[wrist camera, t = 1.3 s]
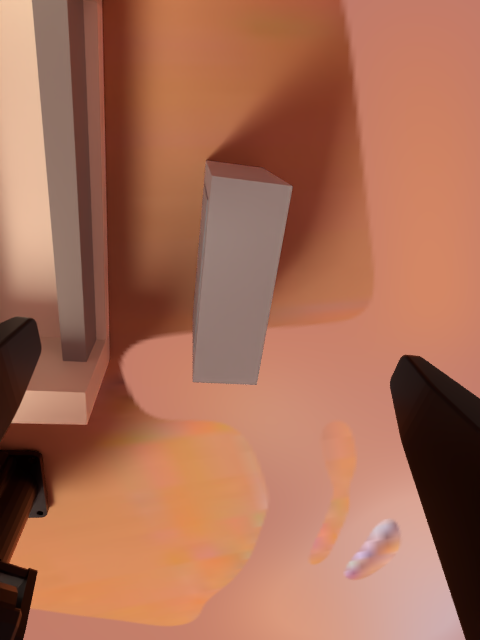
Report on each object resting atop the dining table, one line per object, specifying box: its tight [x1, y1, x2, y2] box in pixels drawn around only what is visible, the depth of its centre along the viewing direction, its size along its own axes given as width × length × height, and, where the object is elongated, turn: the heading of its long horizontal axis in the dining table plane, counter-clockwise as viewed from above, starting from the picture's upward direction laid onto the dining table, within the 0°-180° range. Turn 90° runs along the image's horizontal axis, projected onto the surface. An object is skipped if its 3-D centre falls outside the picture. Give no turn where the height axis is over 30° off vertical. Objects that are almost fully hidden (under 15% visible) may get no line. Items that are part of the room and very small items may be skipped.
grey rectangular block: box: [193, 160, 293, 385], centre depth 19 cm, size 9×3×7 cm, turn 172°
